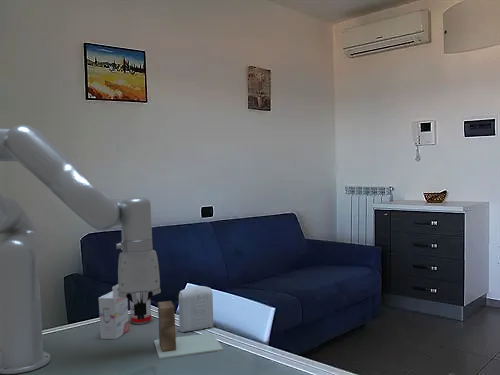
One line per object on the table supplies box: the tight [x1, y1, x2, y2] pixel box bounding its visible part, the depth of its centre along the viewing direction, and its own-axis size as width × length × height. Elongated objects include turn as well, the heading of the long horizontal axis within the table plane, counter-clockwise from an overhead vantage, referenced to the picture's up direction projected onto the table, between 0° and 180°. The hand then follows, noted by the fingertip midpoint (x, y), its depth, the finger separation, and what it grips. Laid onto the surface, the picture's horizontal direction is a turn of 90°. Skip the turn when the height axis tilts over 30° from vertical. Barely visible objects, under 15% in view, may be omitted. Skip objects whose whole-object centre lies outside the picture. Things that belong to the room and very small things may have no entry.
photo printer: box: [178, 285, 214, 333], centre depth 145 cm, size 10×4×12 cm, turn 116°
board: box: [153, 332, 224, 360], centre depth 130 cm, size 16×14×1 cm
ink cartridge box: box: [98, 283, 130, 340], centre depth 142 cm, size 9×5×15 cm, turn 168°
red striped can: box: [129, 292, 152, 325], centre depth 154 cm, size 6×6×16 cm
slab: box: [157, 300, 177, 352], centre depth 128 cm, size 4×7×11 cm, turn 16°
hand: (140, 318), depth 127 cm, fingers closed
